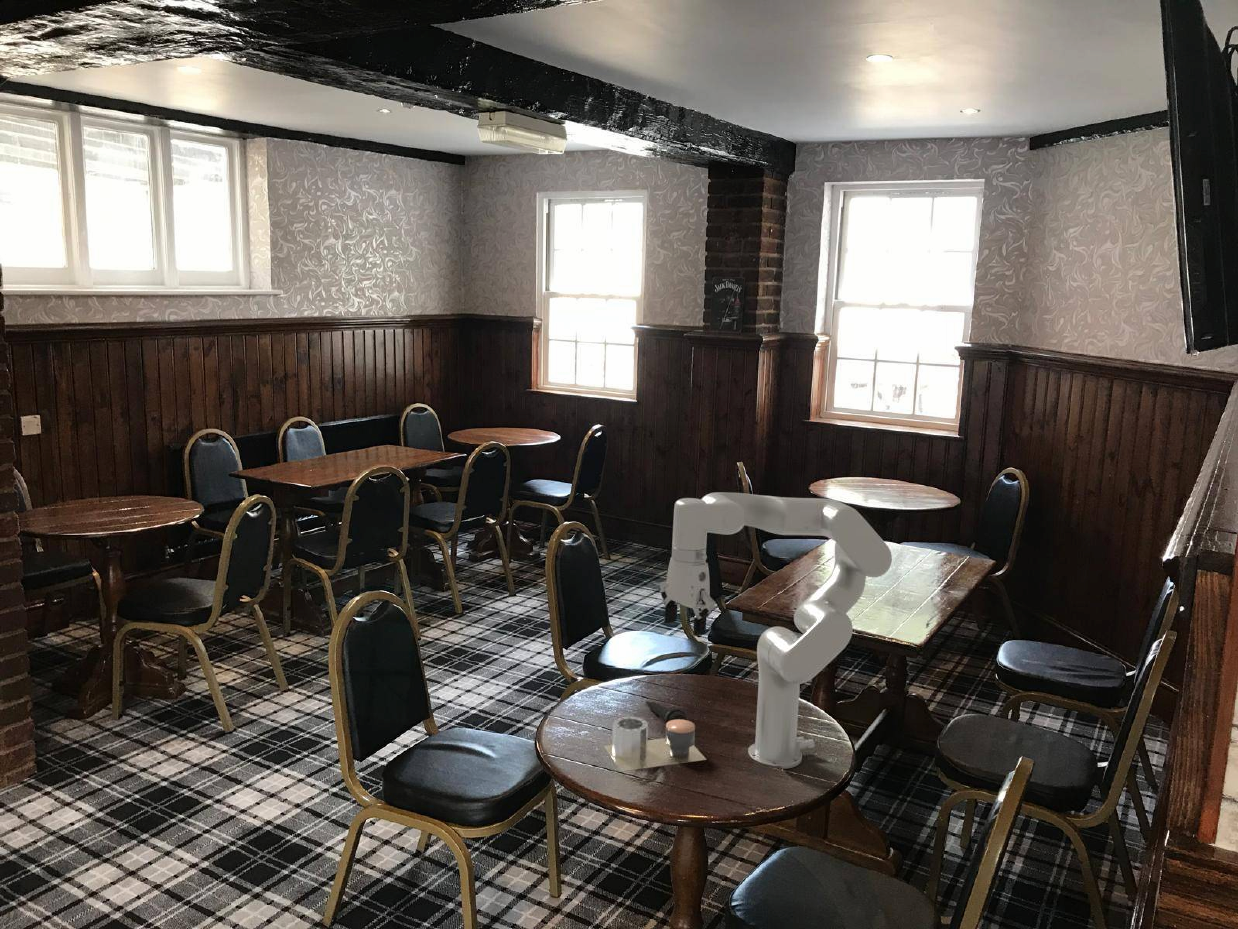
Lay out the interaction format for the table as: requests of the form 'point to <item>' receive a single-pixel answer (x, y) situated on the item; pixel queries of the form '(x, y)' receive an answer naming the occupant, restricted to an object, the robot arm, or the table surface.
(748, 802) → the table surface
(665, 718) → the microphone
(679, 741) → the peach ball on collar
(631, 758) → the cylinder on base plate
